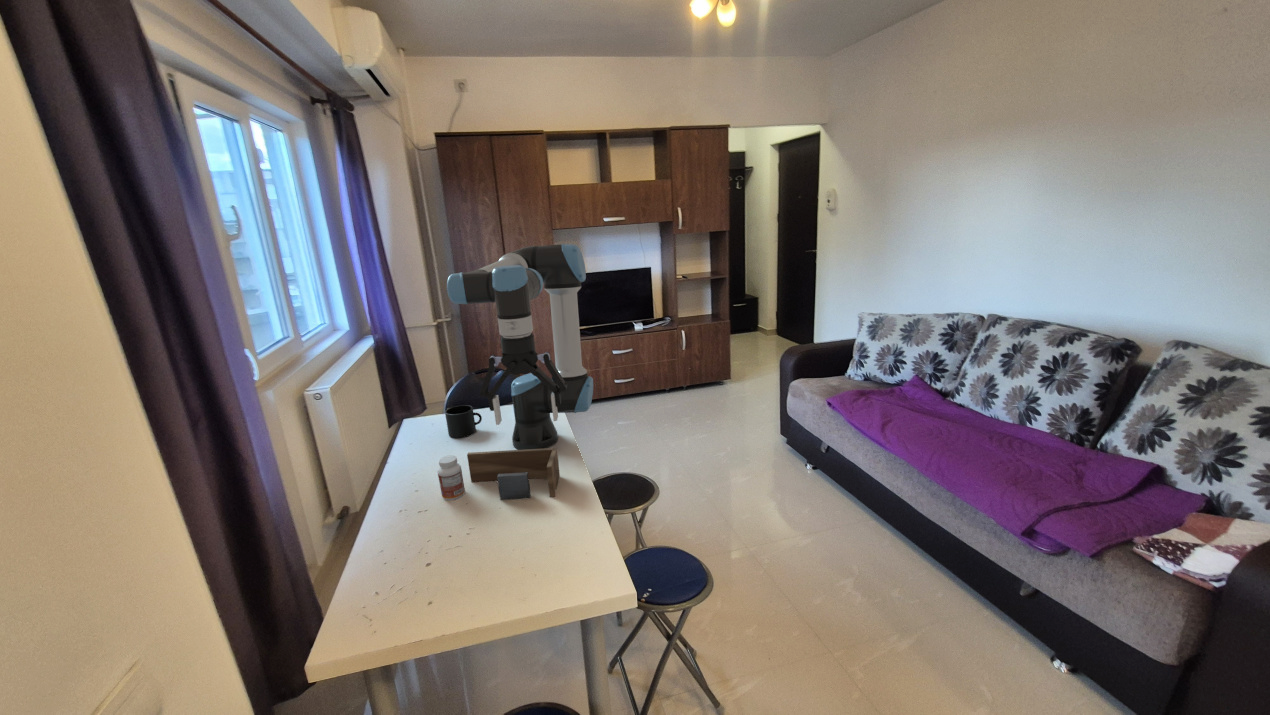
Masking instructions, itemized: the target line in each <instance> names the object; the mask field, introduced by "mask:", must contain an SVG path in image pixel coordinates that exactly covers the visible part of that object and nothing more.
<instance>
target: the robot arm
mask: <svg viewBox="0 0 1270 715" xmlns="http://www.w3.org/2000/svg"><path fill="white" fill-rule="evenodd" d="M586 270H587V269H586V264H585V260H584V256H583V253H582V250H581V248H580V247H579V246H578V245H576V244H570V243H569V244H568V243H567V244H565V243H562V244H561V243H560V244H549V245H547V244H546V245H531V246H524V247H522V248H519V249H515V250H512V251H511V252H508V253H505V254H504V255H502V256H501V257H500V258H499V260H498V261H495V262H493V263H490V264H488V265H484V266H482V267H481V268H477V269H475V270H472V271H469V272H462V271H461V272H457V273H452V274H450V275H449V276H448V278H447V282H446V291H447V296H448V298H449V300H450V302H452V303H453V304H456V305H459V304H460V305H469V304H486V303H495V308H496V316H497V324H498V332H499V335H500V336H501V337H500V339H499V340H500V347H501V353H502V354H501V356H496V355H495V354H492V355H491V356H490V357H489V359H488V369H487V371H486V374H485V376H484V380H483V382H482V385H481V388H480V390H479V392H478V395H479V397H480V398H481V397H484V398H486V399H488V406H489V410H490V412H494V418H495V419H494V420H495V424H496V426H500V424H501V422H502V421H503V420H502V412H501V406H500V397H499V394H496V393H497V391H498V390H499V389H500V388H501V386H502V385H503V383H504V382H505V380H506V379H507V378H508V377H509V375H510V374H512V375H513V376H518V375H520V376H518V377H516V378H515V379H513V381H512V383H511V385H510V387H511V388H510V389H511V390H510V391H511V394H510V396H511V398H512V406H513V413H514V421H515V422H514V423H515V424H514V428H513V432H512V437H511V438H512V439H511V440H512V441H511V443H512V446H513V448H514V449H515V450H526V449H544V448H551V447H552V446H553V445H555V444H556V443H557V442H558V440H559V436H558V430H557V429H556V427H555V425H554V423H553V422H557V421H558V418H559V414H564V413H570V414H573V413H574V414H577V413H584V412H587V411H589V410H590V407H591V405H592V400H593V393H594V378H593V377H592V376H590V375H589V374H588V370H587V369H586V368H585V367H584V366H583V360H582V359H583V358H582V345H581V331H580V318H579V317H580V316H579V305H578V304H579V303H578V292H579V291H580V290H581V288H582V283H583V282H585V281H586V278H587V275H586V274H587V273H586V272H587V271H586ZM543 289H544V290H545V291H546V293H548V294H549V300H550V312H551V313H550V314H551V328H552V338H553V339H552V340H553V350H554V362H553V360H552V357H551V353H550V352H549V351H545V352H544V353H540V354H538V353H537V351H536V344H535V335H534V334H533V331H534V325H533V318H532V310H531V301H532V300H534V299H536V298H537V297H539V295H540V294H541V292H542V291H543ZM538 361H540V362H541V363H542V364H544V365H545V367H546V369H547V370H548V372H549V373H550V375H551V377H549V376H548V375H547V374H546V373H545V372H544V371H543V370H542V369H541V367H539V366H538V364H537V362H538ZM500 363H501V364H502V365H503V366H504V367H505V368H506V369H505V370H504V371H503V373H502V375H501V376H500V377H499V379H498V380H497V381H496V383H495V384H494V385H493V387H492V388H491V390H488V389H489V386H490V384H491V381H492V379H493V376H494V373H495V370H496V368H497V367H498V366H499V365H500ZM588 375H589V376H588ZM551 414H552V417H551ZM552 418H553V419H552Z"/></svg>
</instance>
